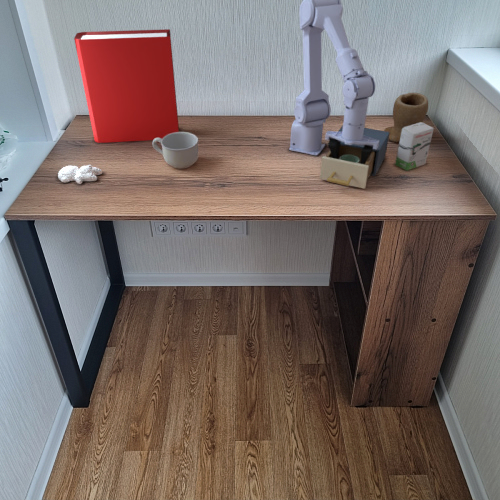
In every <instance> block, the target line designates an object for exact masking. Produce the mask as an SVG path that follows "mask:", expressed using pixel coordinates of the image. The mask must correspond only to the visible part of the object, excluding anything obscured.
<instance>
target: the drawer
mask: <svg viewBox="0 0 500 500" xmlns="http://www.w3.org/2000/svg"><path fill="white" fill-rule="evenodd" d="M361 151H362V149H361V148H355V147H350V146H345V145H340V148H339V158H340V156H342V155H354V156H357V157H358V158H359V160H360V161H359V163H354V162H349V161H344V160H340V159H339V158H338V159H335V158H332V154H331V151H330V150H329V151H328V152H327V153H326V154H325V155H323V156H322V157H321V160H320V161H321V162H320V172H319V179H320V180H323V181H327V182H329V183H333V184H338V185H342V186H347V187H349V186H350V187H354V188H359V189H363V190H364V189H366V187H367V182H368V179H369V178H370V176H371V175H370V174H371V172H372V171H373V169H374V164H375V158H376V151H372V152H371V153H370V155H369V156H368V158H367V160H366V162H365V164H360V163H361Z"/></svg>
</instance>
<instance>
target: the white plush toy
mask: <svg viewBox="0 0 500 500" xmlns="http://www.w3.org/2000/svg"><path fill="white" fill-rule="evenodd" d="M102 174H103V170H102V169H101V168H99V167H97V166H93V165H91V164H88V165H82V166H80V167H79V166H76V165H66V166H63V167H62V168H61V169H60V170H59V171H58V173H57V177H58V180H59V181H61V182H62V183H64V184H65V183H69V182H73V181H75V182H76V183H77V184H78V185H82V184H83V182H96V181H97V180H98V176H100V175H102Z"/></svg>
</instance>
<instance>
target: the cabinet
mask: <svg viewBox="0 0 500 500" xmlns="http://www.w3.org/2000/svg"><path fill="white" fill-rule="evenodd" d="M342 130H343V125H341V127H340V128H339V129H338V131H337V132H342ZM389 133H390V132H386V131H384V130H380V129H375V128H368V127H364V133H363V135H364V136H367V137H370V138H373V139H376V140H379V146H378V148H377V150H376V149H373V150H372V151H376V158H375V164H374V169H373V171H372V172H371V174H370V176H374V177H375V176H376V175H377V173H378V171H379V169H380V167H381V166H382V164H383V162H384V160H385V158H386V155H387V150H388V149H387V148H388V145H389ZM340 145H345V146H350V147H355V148H361V149H363V148H364V146H361V145H356V144H352V145H347V144H345V142H341V143H340Z"/></svg>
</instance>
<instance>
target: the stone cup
mask: <svg viewBox="0 0 500 500" xmlns="http://www.w3.org/2000/svg"><path fill="white" fill-rule="evenodd" d="M428 111H429V99H428V97H427V96H426V95H425V94H422V93H419V92H415V91H414V92H408V93H405V94H400V95H399V96H398V97H397V98H396V99H395V101H394V103H393V108H392V119H393V126H388V127H386V128H385V129H384V130H383V131H386V132H390V133H389V139H388V141H390V142H393V143H399V142H400V137H401V132H402V128H404V127H406V126H410V125H413V124H416V123H420V122H422V123H424V120H425V118H426V116H427V113H428Z"/></svg>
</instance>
